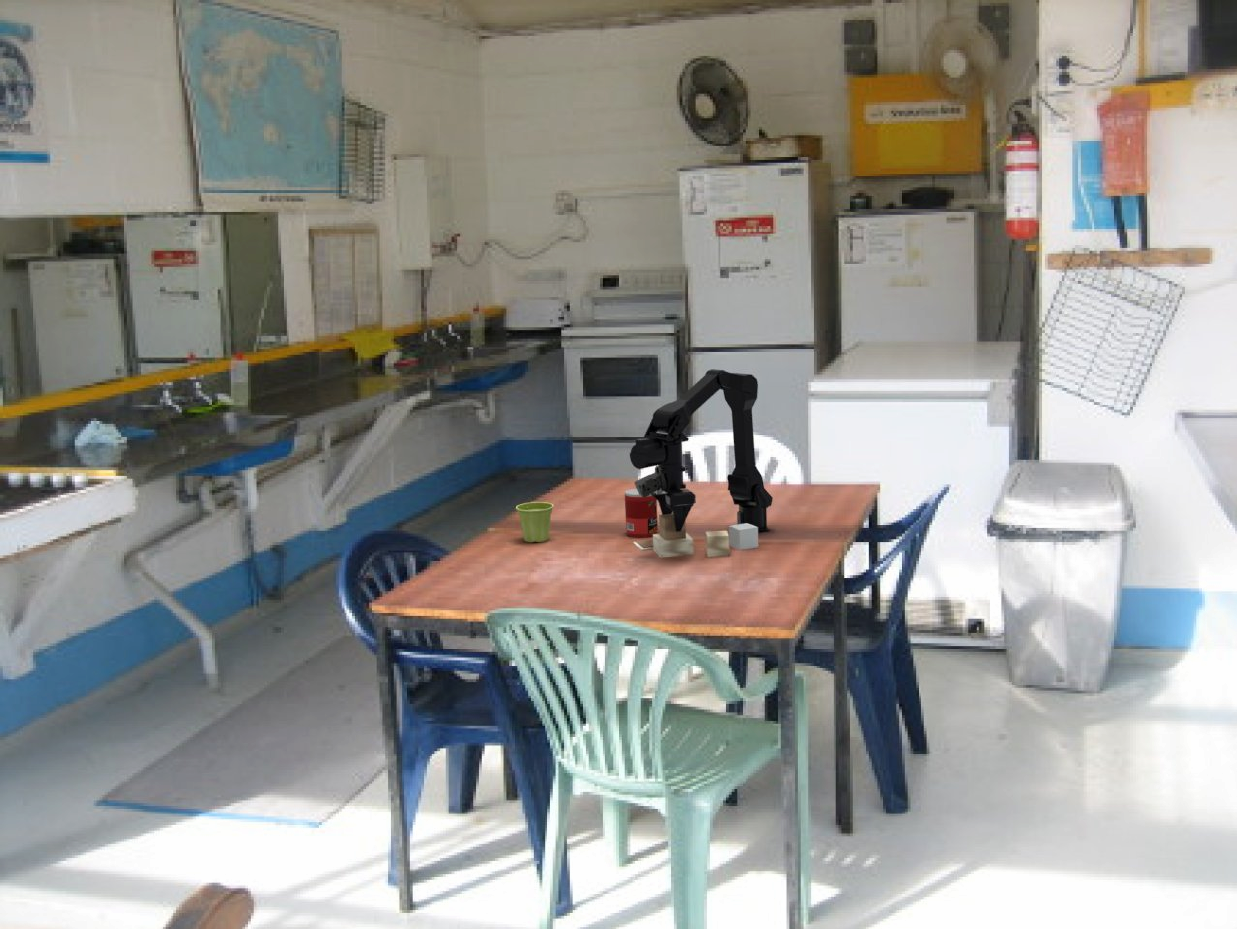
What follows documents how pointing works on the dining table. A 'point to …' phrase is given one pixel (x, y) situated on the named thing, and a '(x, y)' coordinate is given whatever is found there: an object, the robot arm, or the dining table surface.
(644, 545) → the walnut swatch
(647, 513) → the canned food
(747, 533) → the grey block
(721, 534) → the maple block
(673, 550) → the cream square block
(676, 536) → the walnut block
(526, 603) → the dining table surface
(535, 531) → the plant pot
